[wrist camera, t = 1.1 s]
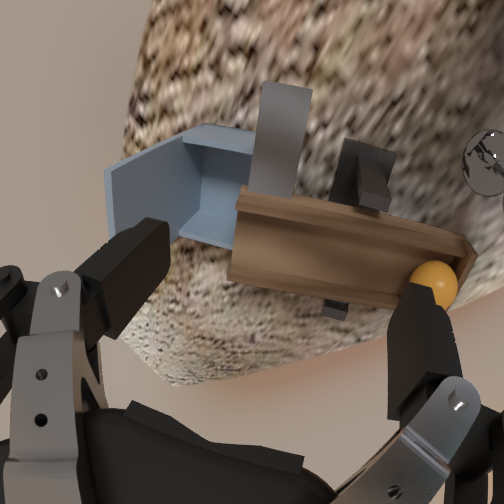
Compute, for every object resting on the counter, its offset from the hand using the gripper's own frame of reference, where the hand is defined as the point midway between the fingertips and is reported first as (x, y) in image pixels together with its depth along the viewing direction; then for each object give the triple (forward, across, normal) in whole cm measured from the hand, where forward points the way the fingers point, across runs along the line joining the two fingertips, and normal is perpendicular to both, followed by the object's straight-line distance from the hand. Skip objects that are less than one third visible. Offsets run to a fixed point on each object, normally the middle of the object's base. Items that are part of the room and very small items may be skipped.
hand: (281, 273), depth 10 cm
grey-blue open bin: (+23, +7, +6) cm, 25 cm away
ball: (+12, -11, +6) cm, 17 cm away
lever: (+14, -4, +3) cm, 15 cm away
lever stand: (+23, -4, +6) cm, 24 cm away
